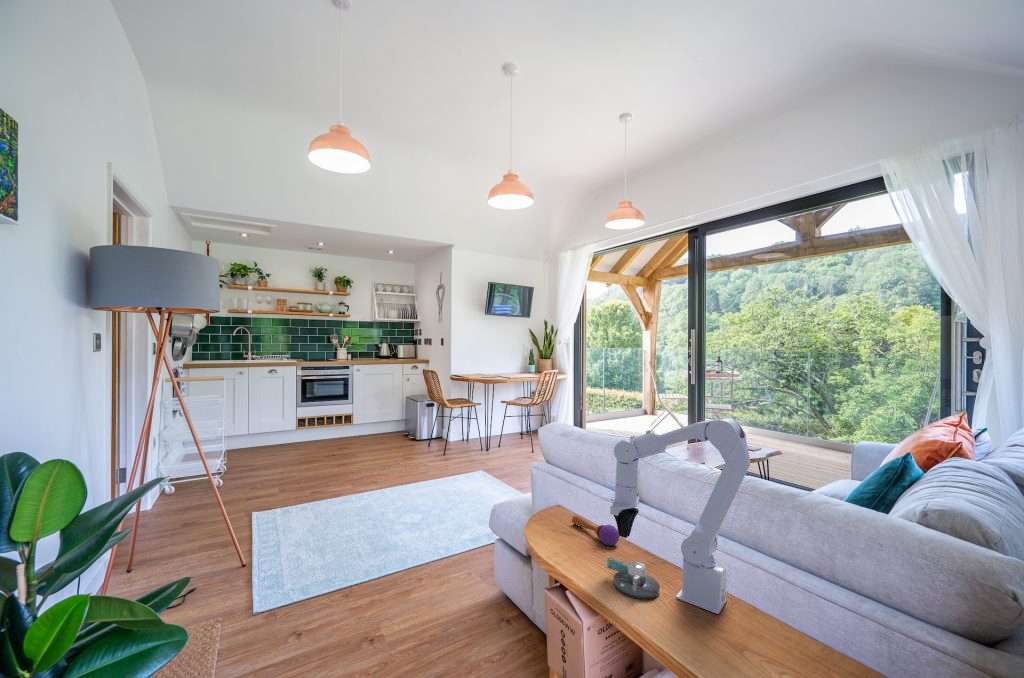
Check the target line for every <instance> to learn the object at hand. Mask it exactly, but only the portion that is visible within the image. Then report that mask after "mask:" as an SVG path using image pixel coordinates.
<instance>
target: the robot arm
mask: <svg viewBox="0 0 1024 678" xmlns="http://www.w3.org/2000/svg"><path fill="white" fill-rule="evenodd" d="M693 439H696V440H699V441H703V442H707V441H709V443H710V444H711V445H712V446H713V447H714V448H715V449H716V450H717V451H718V452H719V453H720V456H721V458H722V459H723V461H724V466H723V467H722V469H721V472H720V474H719V477H718V479H717V481H716V483H715V485H714V487H713V489H712V491H711V493H710V496H709V498H708V500H707V502H706V504H705V507H704V509H703V511H702V513H701V515H700V517H699V520H698V522H697V523H696V524H695V527H694V528H693V530H692V531H691V532H690V534H689V535H688V536H687V537H686V538H685V539H684V540H683V541H682V543H681V545H680V551H681V554H682V577H681V580H682V583H681V589H680V591H679V592H678V593H677V594H676V595H675V598H676V599H678V600H680V601H682V602H685V603H688V604H689V605H690V604H691V605H692V606H695V607H698V608H701V609H704V610H706V611H709V612H711V613H713V614H717V615H719V614H720V612H721V611H722V609H723V607H724V605H725V603H726V601H727V599H726V596H727V595H726V594H727V571H726V569H725V568H724V567H721V566H719V565H717V564H716V562H717V561H716V559H715V557H714V555H713V553H714V552H715V551H716V550H717V548H718V535H719V533H720V529H721V527H722V525H723V523H724V520H725V518H726V516H727V515H728V513H729V510H730V508H731V506H732V504H733V502H734V499H735V497H736V496H737V493H738V491H739V489H740V488H741V487H740V486H741V485H742V483H743V480H744V478H745V477H746V474H747V472H748V470H749V468H750V466H751V458H750V452H749V448H748V443H747V434H746V432H745V431H744V429H743V427H742V426H741V424H740V423H739V422H738V421H737V420H736V419H734V418H733V417H732V418H731V417H728V416H727V417H726V416H725V417H722V418H719V419H710V420H705V421H699V422H694V423H692V424H687V425H685V426H682V427H679V428H677V429H673V430H670V431H668V432H665V433H662V432H659V431H658V430H654V431H653V430H652V429H649V430H646V431H645V433H643V434H640V435H638V436H635V435H632V436H630V437H629V438H628V439H625V440H624V439H623V440H620V441H619V442H617V443H616V444H615V446H614V447H613V454H614V456H615V458H616V468H615V471H616V472H615V490H614V491H615V492H614V496H613V497H611V498H610V501H611V502H612V505H610V510H609V511H610V512H609V513H610V514H609V515H613V517H614V519H615V523H616V526H617V528H616V529H617V530H618V533H619V537H621V538H624V539H627V538H628V537H629V536H631V535H630V534H631V532H632V528H633V525H634V521H635V519H636V517H637V515H638V513H639V511H640V510H639V508H637V507H638V505H639V504H640V496H639V495H638V482H639V481H638V480H639V479H638V475H639V459H645V458H648V457H651V456H654V455H658V454H662V453H665V451H666V449H667V447H668V446H671V445H675V444H679V443H682V442H686V441H690V440H693Z"/></svg>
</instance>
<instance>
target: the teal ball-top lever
mask: <svg viewBox="0 0 1024 678" xmlns="http://www.w3.org/2000/svg"><path fill="white" fill-rule="evenodd" d="M606 568H607V569H609V570H613V571H616V572H617V573H618V572H621V573H623V574H626V575H627V580H628V581H629V582H631V583H633V578H634V577H635V576H636V575H638V576H640V585H643V584H645V583H646V575H647V565H646V564H644V563H643V562H640V561H632V560H631V561H629V562H628V563H626V562H623V561H620V560H617V559H615V558H613V557H608V558H607V563H606Z"/></svg>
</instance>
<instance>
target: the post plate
mask: <svg viewBox="0 0 1024 678" xmlns="http://www.w3.org/2000/svg"><path fill="white" fill-rule="evenodd" d="M613 586H614V588H615V590H616V591H617V592H619V593H620V594H622V596H625V597H628V598H630V599H634V600H638V601H639V600H640V601H652V600H654V599H656V598H658V597H659V596H660V590H661V589H660V583H659V582H658V581H657V579H655V578H654V577H652V576H650V575H649V574H646V583H645V584H643V585H640V576H638V575H636V576H635V577H634V578H633V583H631V582H629V581H628V580H627V575H626V574H623V573H621V572H618V571H617V572H616V573H615V574H614V576H613Z"/></svg>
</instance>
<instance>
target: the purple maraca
mask: <svg viewBox="0 0 1024 678" xmlns="http://www.w3.org/2000/svg"><path fill="white" fill-rule="evenodd" d="M572 523H574V524H577V525H579V526H581V527H580V528H584V529H588V530H591V531H594V533H595V534H596V536H597V537H598V539H600V541H601V543H602V544H604V545H605V546H608V545H609V546H608V547H610V546H615V545H617V543H618V542H619V539H620V536H619V533H618V528H616V526H614V525H611V524H606V525H605V524H602V525H597V526H595V525H593V524H592V523H590V522H588V521H587V520H585V519H584V518H583V517H581V516H580V515H578V514H575V515H574V516H573V517H572V518H571V524H572ZM579 526H578V527H579Z"/></svg>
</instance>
